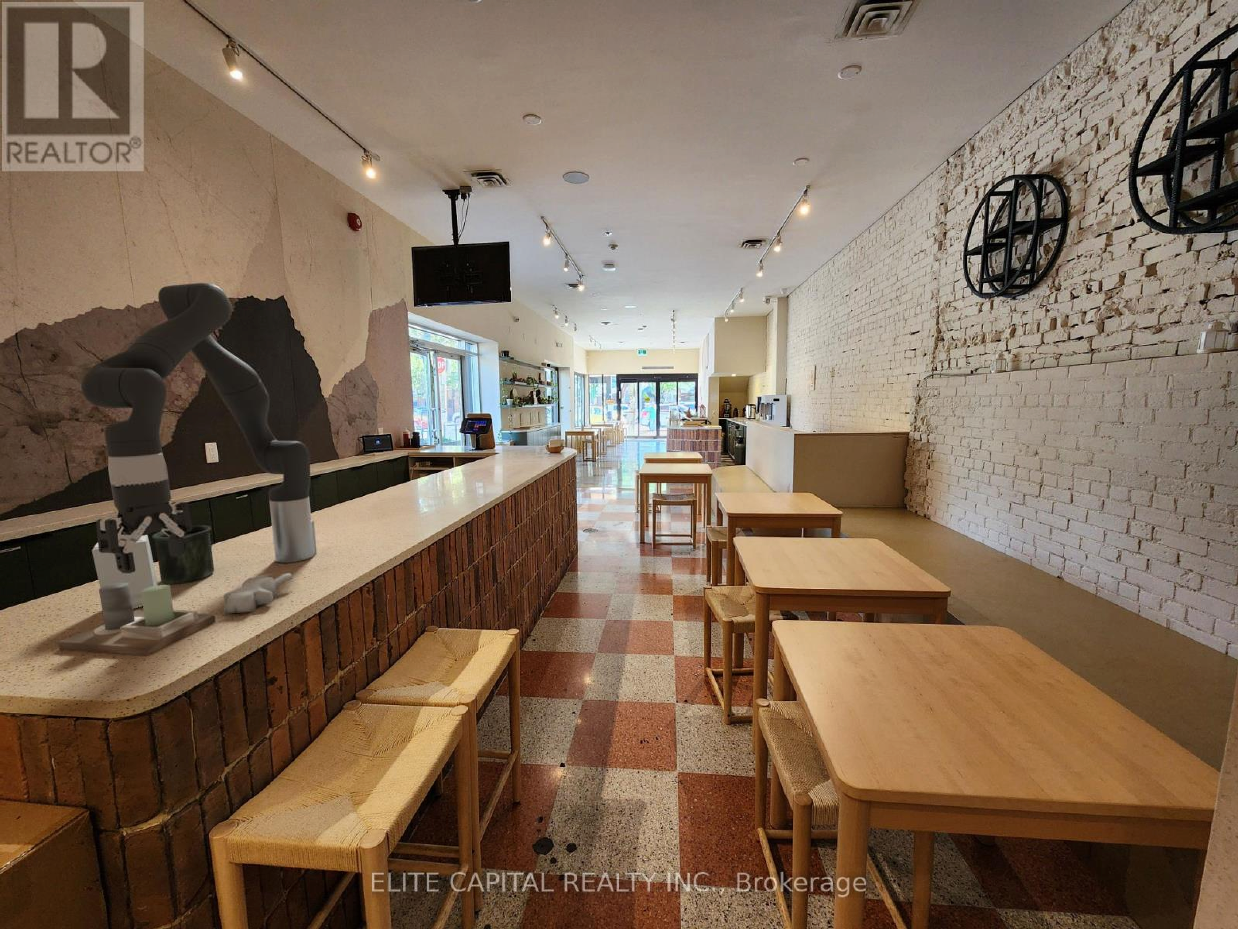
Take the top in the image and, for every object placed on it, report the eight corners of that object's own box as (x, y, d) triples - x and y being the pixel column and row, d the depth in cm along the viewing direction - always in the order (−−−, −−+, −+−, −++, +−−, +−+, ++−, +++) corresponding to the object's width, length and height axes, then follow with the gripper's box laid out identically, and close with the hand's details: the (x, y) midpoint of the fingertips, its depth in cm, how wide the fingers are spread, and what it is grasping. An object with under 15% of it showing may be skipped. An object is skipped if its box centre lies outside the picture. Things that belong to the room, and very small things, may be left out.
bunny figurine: (207, 600, 99) (253, 566, 114) (212, 622, 101) (257, 586, 115) (256, 598, 100) (296, 565, 115) (261, 620, 102) (299, 584, 116)
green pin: (163, 623, 94) (157, 584, 93) (181, 624, 94) (175, 585, 93) (140, 633, 90) (134, 592, 89) (159, 634, 90) (153, 593, 89)
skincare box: (160, 596, 111) (151, 533, 108) (157, 605, 106) (148, 540, 104) (107, 606, 105) (96, 540, 103) (102, 616, 101) (91, 547, 98)
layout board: (138, 616, 100) (131, 573, 99) (215, 621, 98) (209, 577, 97) (59, 649, 88) (50, 599, 86) (146, 655, 85) (138, 605, 84)
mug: (146, 587, 116) (139, 538, 114) (189, 566, 130) (183, 522, 128) (197, 584, 118) (190, 536, 116) (234, 563, 132) (229, 521, 130)
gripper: (162, 472, 95) (174, 550, 98) (74, 486, 81) (91, 577, 84) (196, 472, 94) (207, 552, 97) (113, 487, 80) (128, 579, 83)
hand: (153, 563), depth 90 cm, fingers open, 8 cm apart
